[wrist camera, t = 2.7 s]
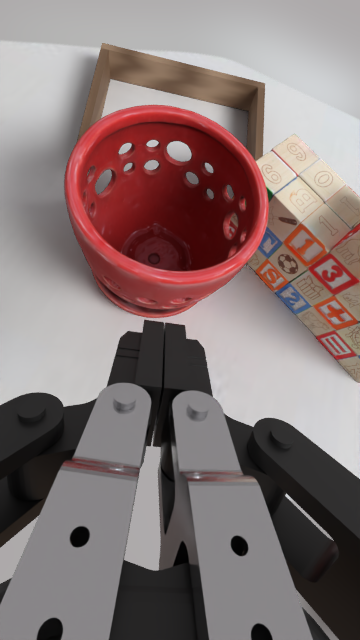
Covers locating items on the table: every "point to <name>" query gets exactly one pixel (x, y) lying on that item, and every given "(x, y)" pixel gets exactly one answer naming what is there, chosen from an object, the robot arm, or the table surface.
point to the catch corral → (176, 87)
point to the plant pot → (163, 208)
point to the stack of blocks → (312, 247)
